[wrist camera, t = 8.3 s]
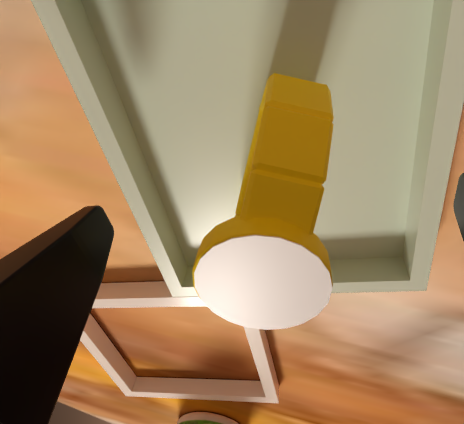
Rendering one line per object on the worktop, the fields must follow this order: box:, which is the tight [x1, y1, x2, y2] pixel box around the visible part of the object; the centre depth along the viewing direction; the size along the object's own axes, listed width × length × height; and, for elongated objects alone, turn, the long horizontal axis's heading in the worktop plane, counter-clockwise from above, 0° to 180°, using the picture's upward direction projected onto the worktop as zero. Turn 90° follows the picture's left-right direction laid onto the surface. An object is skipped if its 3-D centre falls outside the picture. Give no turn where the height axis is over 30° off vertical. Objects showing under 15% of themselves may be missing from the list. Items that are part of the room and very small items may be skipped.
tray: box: [31, 0, 464, 297], centre depth 11 cm, size 10×12×2 cm
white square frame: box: [80, 281, 279, 403], centre depth 20 cm, size 10×10×1 cm
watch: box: [192, 73, 334, 330], centre depth 9 cm, size 6×3×6 cm, turn 170°
